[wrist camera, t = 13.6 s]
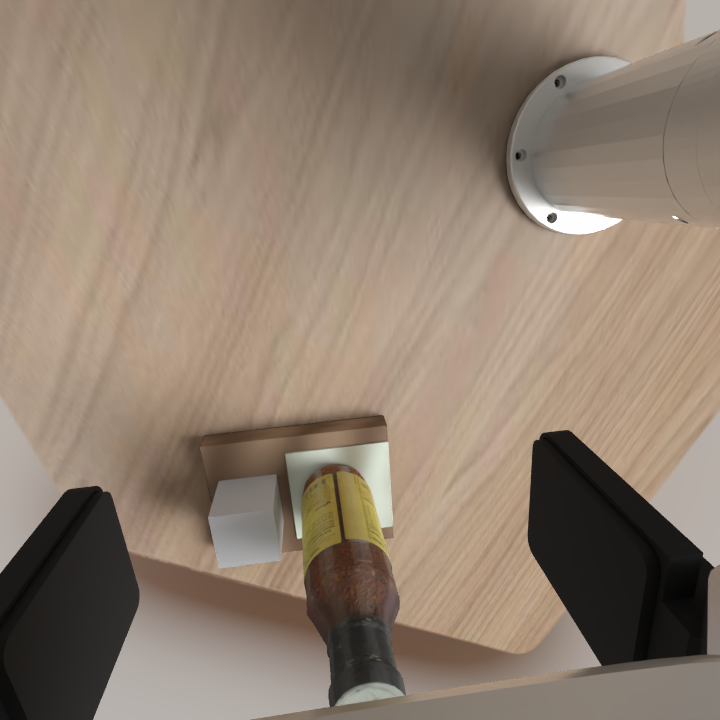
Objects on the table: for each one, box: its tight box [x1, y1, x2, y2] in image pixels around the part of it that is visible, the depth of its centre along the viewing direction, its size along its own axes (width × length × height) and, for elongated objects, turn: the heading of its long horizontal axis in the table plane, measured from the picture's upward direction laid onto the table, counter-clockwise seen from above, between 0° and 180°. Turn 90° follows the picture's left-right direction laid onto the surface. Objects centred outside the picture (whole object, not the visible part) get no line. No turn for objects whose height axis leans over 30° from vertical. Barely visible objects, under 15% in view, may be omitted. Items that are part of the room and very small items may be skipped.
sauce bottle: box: [301, 465, 406, 707], centre depth 34 cm, size 6×6×20 cm
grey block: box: [208, 474, 284, 569], centre depth 41 cm, size 5×5×5 cm
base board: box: [200, 416, 394, 553], centre depth 44 cm, size 16×12×2 cm
